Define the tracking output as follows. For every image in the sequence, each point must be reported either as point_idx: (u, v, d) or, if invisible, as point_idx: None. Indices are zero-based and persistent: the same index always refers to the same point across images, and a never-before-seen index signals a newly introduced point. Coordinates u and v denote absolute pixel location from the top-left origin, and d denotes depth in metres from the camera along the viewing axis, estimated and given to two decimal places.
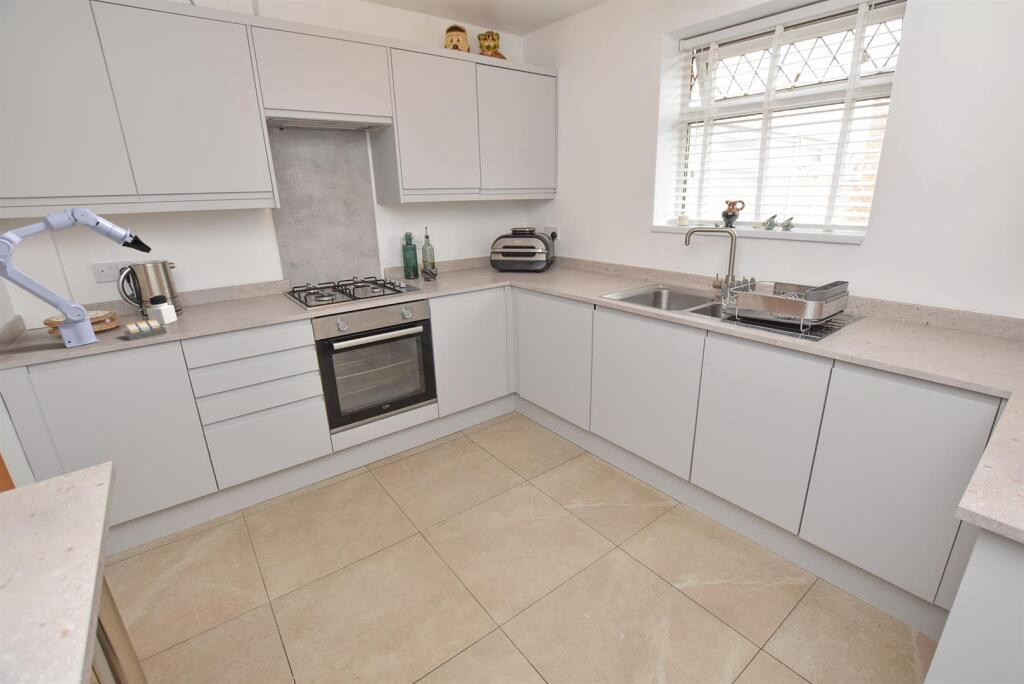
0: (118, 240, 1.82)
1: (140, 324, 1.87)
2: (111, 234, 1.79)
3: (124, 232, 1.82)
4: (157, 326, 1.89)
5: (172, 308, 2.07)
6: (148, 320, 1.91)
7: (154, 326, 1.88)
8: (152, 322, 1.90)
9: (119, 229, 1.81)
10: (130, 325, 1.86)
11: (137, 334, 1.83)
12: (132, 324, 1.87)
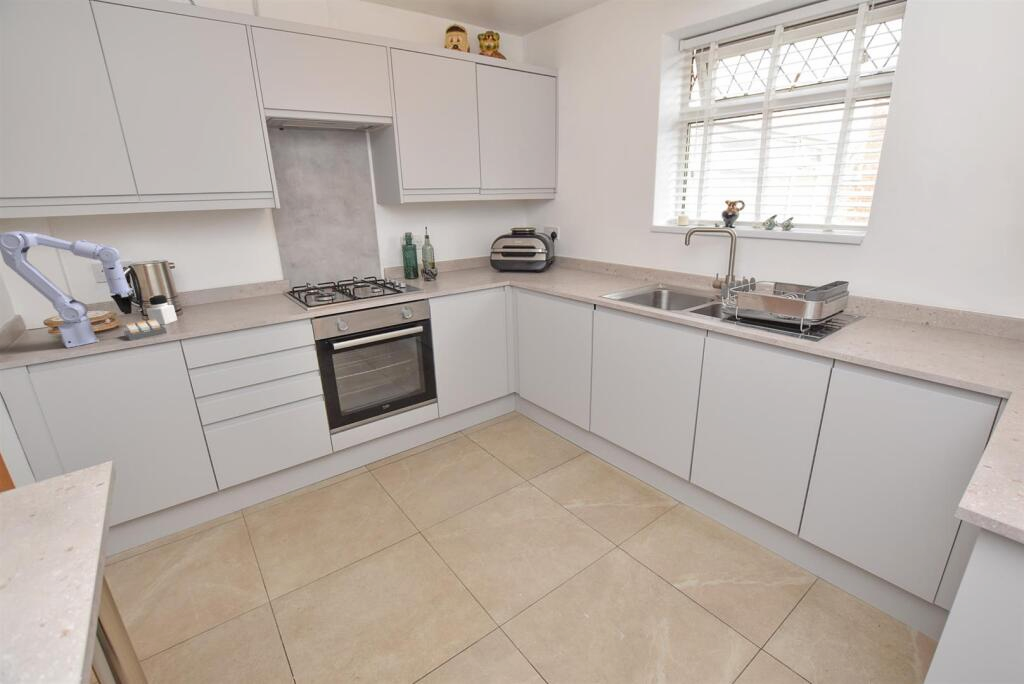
0: (113, 289, 1.79)
1: (140, 324, 1.87)
2: (114, 282, 1.79)
3: (126, 288, 1.82)
4: (157, 326, 1.89)
5: (172, 308, 2.07)
6: (148, 320, 1.91)
7: (154, 326, 1.88)
8: (152, 322, 1.90)
9: (125, 283, 1.82)
10: (130, 325, 1.86)
11: (137, 334, 1.83)
12: (132, 324, 1.87)
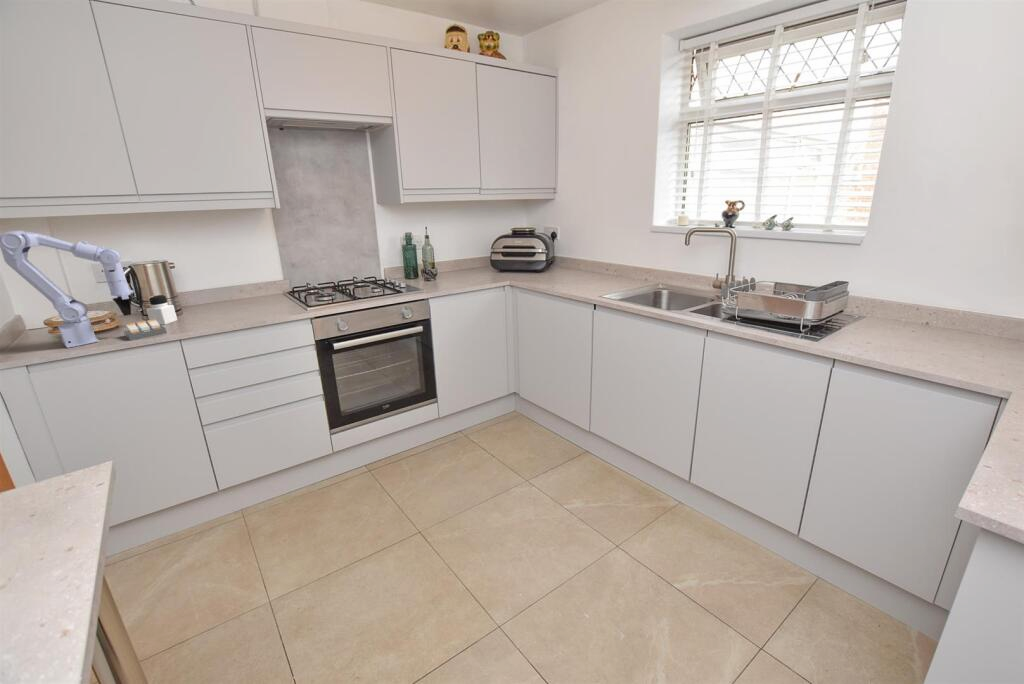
0: (114, 292, 1.80)
1: (140, 324, 1.87)
2: (115, 284, 1.79)
3: (126, 290, 1.82)
4: (157, 326, 1.89)
5: (172, 308, 2.07)
6: (148, 320, 1.91)
7: (154, 326, 1.88)
8: (152, 322, 1.90)
9: (125, 286, 1.82)
10: (130, 325, 1.86)
11: (137, 334, 1.83)
12: (132, 324, 1.87)
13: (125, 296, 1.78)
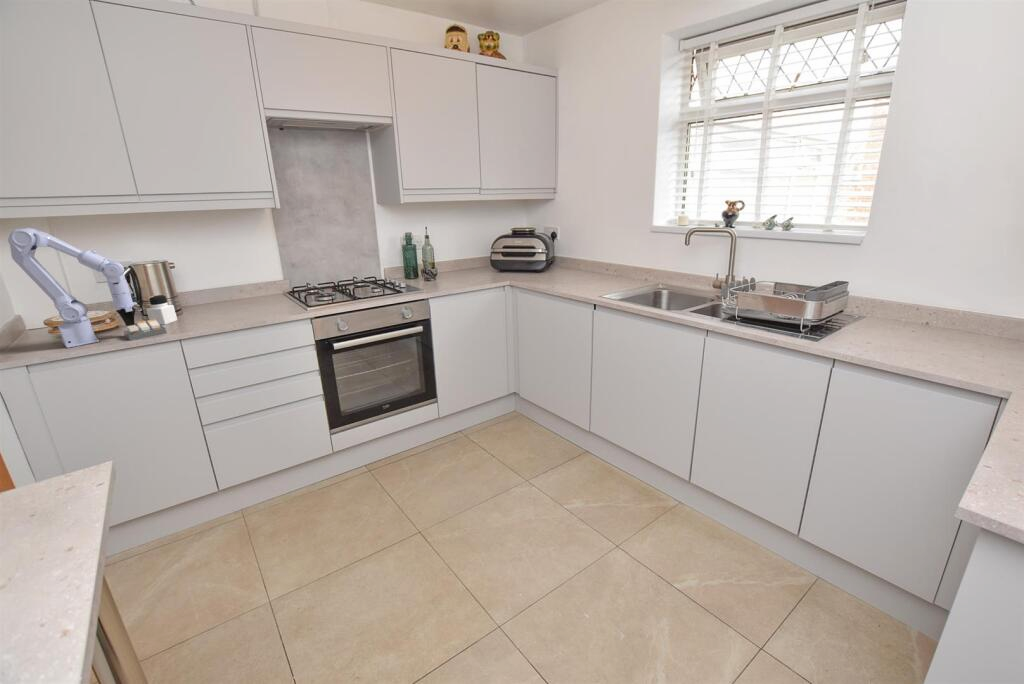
0: (118, 304, 1.81)
1: (140, 324, 1.87)
2: (118, 297, 1.81)
3: (130, 302, 1.84)
4: (157, 326, 1.89)
5: (172, 308, 2.07)
6: (148, 320, 1.91)
7: (154, 326, 1.88)
8: (152, 322, 1.90)
9: (129, 298, 1.84)
10: (130, 326, 1.86)
11: (137, 334, 1.83)
12: (132, 325, 1.87)
13: (129, 308, 1.80)
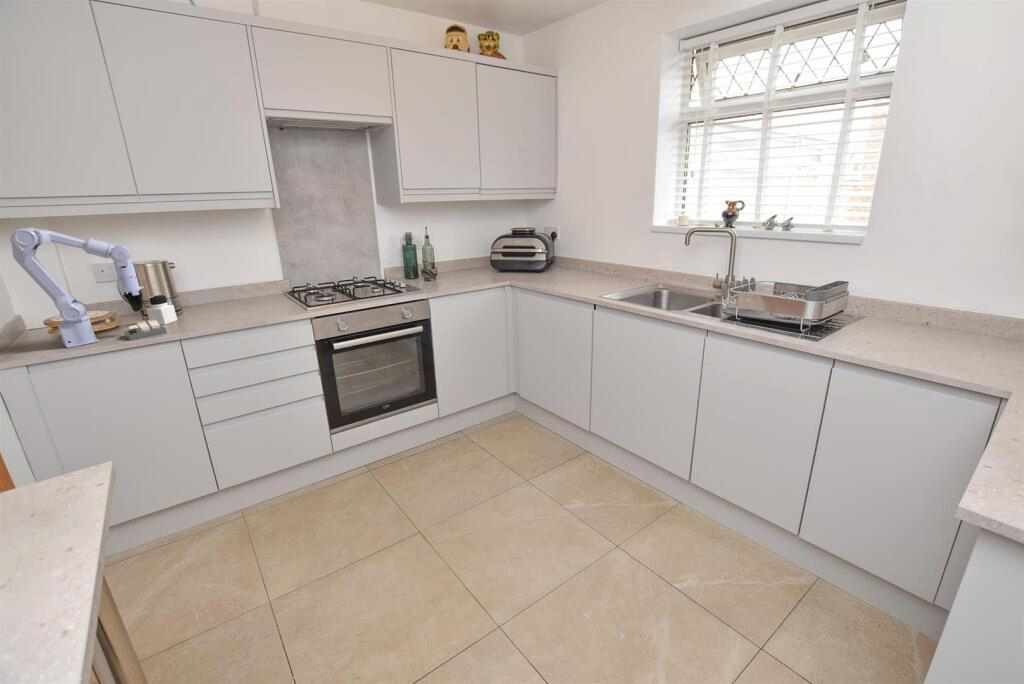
0: (125, 288, 1.82)
1: (140, 324, 1.87)
2: (125, 280, 1.81)
3: (137, 286, 1.84)
4: (157, 326, 1.89)
5: (172, 308, 2.07)
6: (148, 320, 1.91)
7: (154, 326, 1.88)
8: (152, 322, 1.90)
9: (136, 282, 1.84)
10: None
11: (137, 334, 1.83)
12: None
13: (136, 292, 1.81)
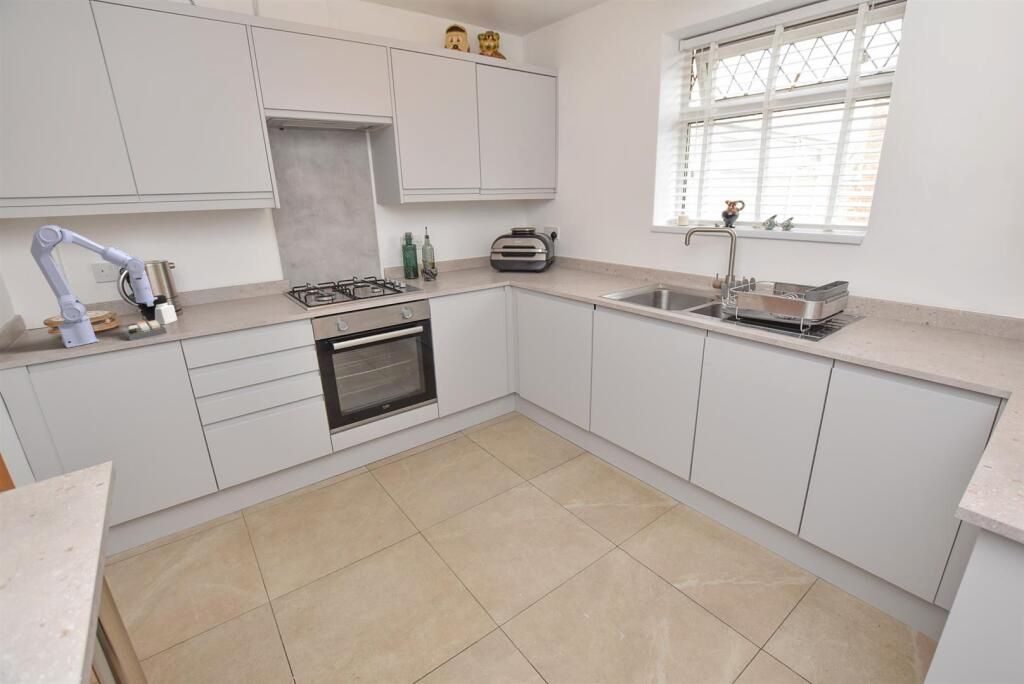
0: (140, 299, 1.86)
1: (140, 324, 1.87)
2: (140, 292, 1.85)
3: (151, 297, 1.89)
4: (157, 326, 1.89)
5: (172, 308, 2.07)
6: None
7: (154, 326, 1.88)
8: (152, 322, 1.90)
9: (150, 293, 1.88)
10: None
11: (137, 334, 1.83)
12: None
13: (150, 303, 1.85)
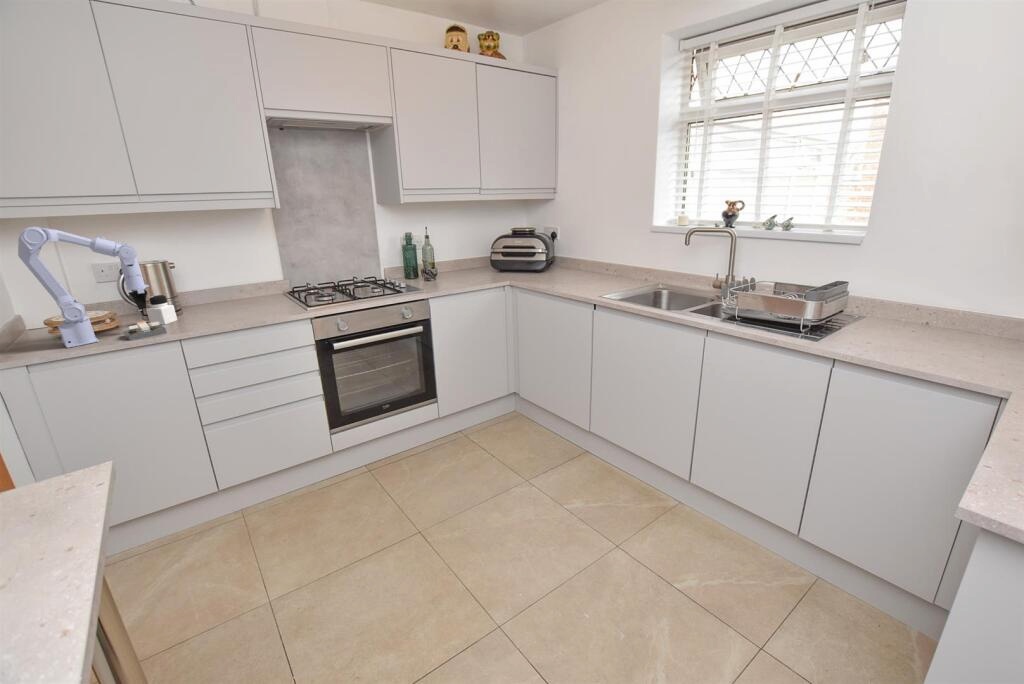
0: (130, 286, 1.85)
1: (140, 324, 1.87)
2: (131, 279, 1.84)
3: (142, 284, 1.87)
4: (156, 323, 1.88)
5: (172, 308, 2.07)
6: None
7: (153, 323, 1.88)
8: (152, 322, 1.90)
9: (141, 280, 1.87)
10: None
11: (137, 334, 1.83)
12: None
13: (141, 290, 1.83)
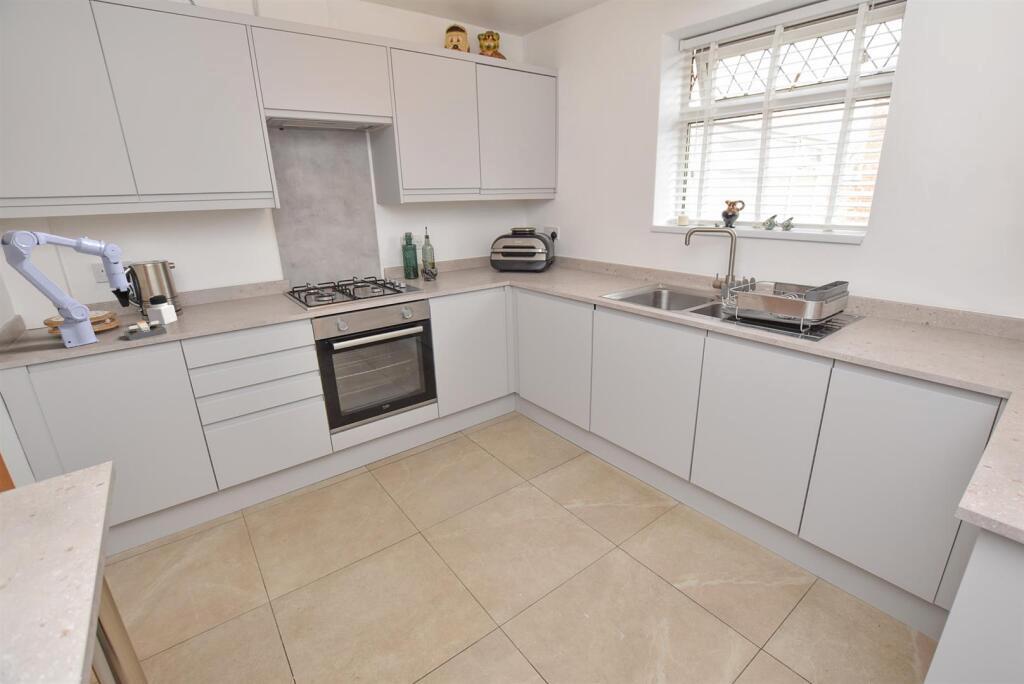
0: (113, 284, 1.86)
1: (140, 324, 1.87)
2: (113, 277, 1.85)
3: (125, 282, 1.89)
4: (156, 322, 1.88)
5: (172, 308, 2.07)
6: (149, 324, 1.92)
7: (153, 322, 1.88)
8: None
9: (124, 278, 1.88)
10: None
11: (137, 334, 1.83)
12: None
13: (123, 288, 1.85)
